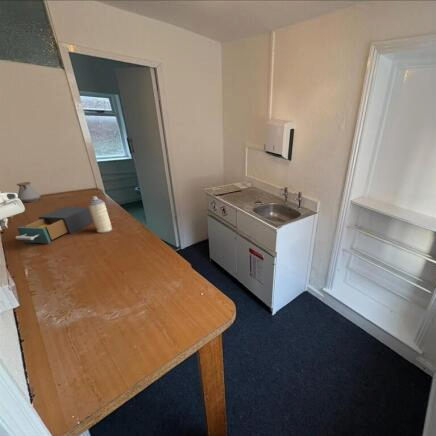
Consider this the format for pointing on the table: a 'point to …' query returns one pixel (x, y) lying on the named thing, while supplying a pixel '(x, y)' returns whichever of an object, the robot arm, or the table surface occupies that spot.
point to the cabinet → (71, 217)
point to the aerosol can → (100, 215)
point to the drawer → (42, 230)
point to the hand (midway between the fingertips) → (2, 229)
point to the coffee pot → (27, 192)
